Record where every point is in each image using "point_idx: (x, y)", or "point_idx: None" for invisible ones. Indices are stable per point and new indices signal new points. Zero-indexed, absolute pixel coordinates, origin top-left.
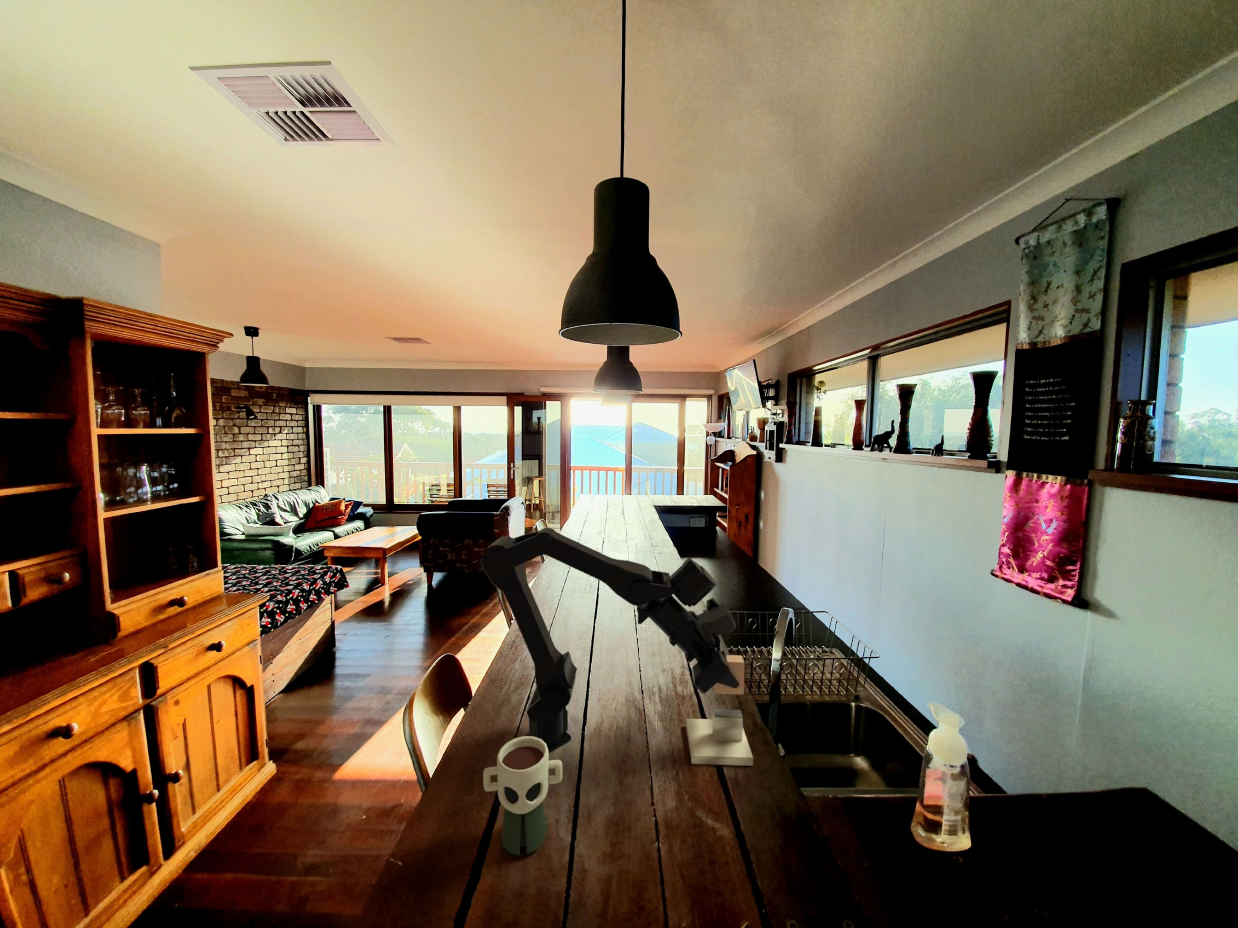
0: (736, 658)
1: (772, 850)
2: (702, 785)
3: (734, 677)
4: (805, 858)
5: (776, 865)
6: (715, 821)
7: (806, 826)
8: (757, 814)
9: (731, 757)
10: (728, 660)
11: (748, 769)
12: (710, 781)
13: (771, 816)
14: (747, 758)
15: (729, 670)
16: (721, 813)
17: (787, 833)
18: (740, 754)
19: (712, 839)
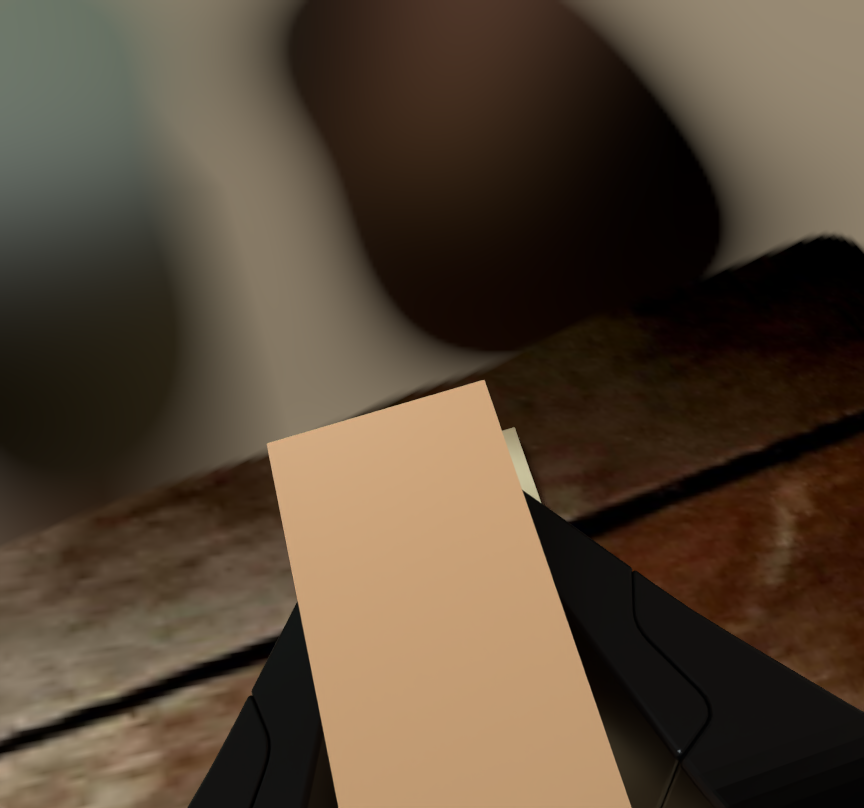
0: (393, 520)
1: (784, 371)
2: (661, 582)
3: (552, 516)
4: (764, 302)
5: (820, 362)
6: (775, 522)
7: (670, 296)
8: (692, 410)
9: (539, 499)
10: (519, 667)
11: (530, 444)
12: (632, 558)
13: (680, 375)
14: (520, 446)
15: (643, 599)
16: (739, 508)
17: (714, 338)
18: (515, 469)
19: (838, 522)
